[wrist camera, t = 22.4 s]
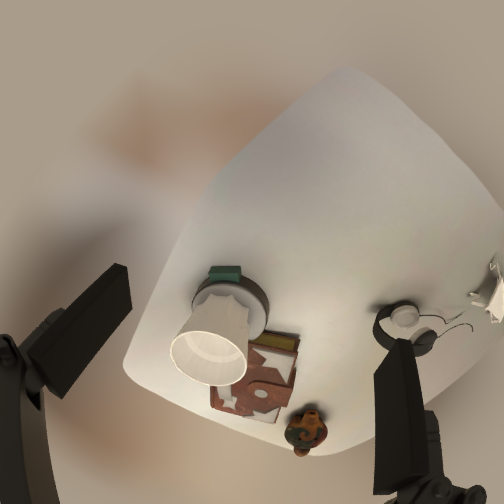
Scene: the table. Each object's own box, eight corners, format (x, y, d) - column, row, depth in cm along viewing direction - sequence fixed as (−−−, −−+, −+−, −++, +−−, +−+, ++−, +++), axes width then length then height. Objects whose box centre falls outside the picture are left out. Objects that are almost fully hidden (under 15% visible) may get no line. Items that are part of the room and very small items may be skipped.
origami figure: (460, 284, 39) (472, 300, 35) (494, 254, 36) (509, 269, 32) (476, 323, 42) (486, 339, 38) (507, 297, 39) (519, 312, 34)
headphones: (451, 312, 45) (361, 323, 44) (459, 293, 43) (368, 300, 42) (478, 345, 36) (384, 367, 35) (489, 325, 34) (394, 344, 33)
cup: (227, 349, 47) (214, 394, 38) (180, 312, 45) (157, 354, 36) (270, 318, 43) (263, 365, 34) (219, 274, 41) (199, 317, 32)
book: (217, 317, 50) (207, 336, 45) (306, 337, 47) (303, 358, 43) (215, 393, 60) (208, 410, 56) (283, 409, 58) (279, 427, 53)
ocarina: (285, 433, 64) (281, 458, 56) (288, 399, 58) (283, 427, 51) (323, 435, 62) (322, 461, 54) (332, 400, 56) (331, 429, 49)
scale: (188, 266, 45) (181, 276, 42) (266, 265, 43) (263, 276, 40) (203, 331, 50) (198, 343, 48) (271, 334, 48) (269, 346, 46)
